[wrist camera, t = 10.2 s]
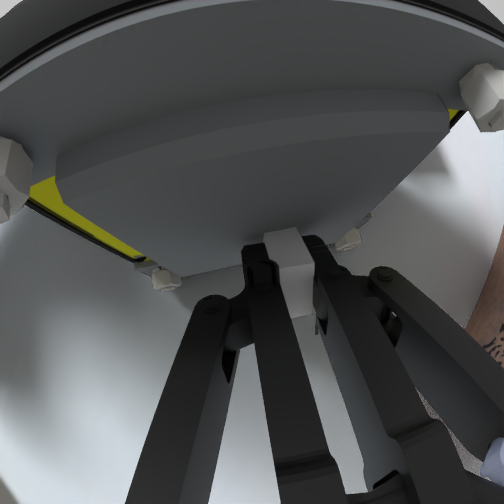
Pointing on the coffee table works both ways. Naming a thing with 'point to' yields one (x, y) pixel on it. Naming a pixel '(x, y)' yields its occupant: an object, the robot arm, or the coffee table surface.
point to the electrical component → (231, 116)
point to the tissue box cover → (491, 310)
